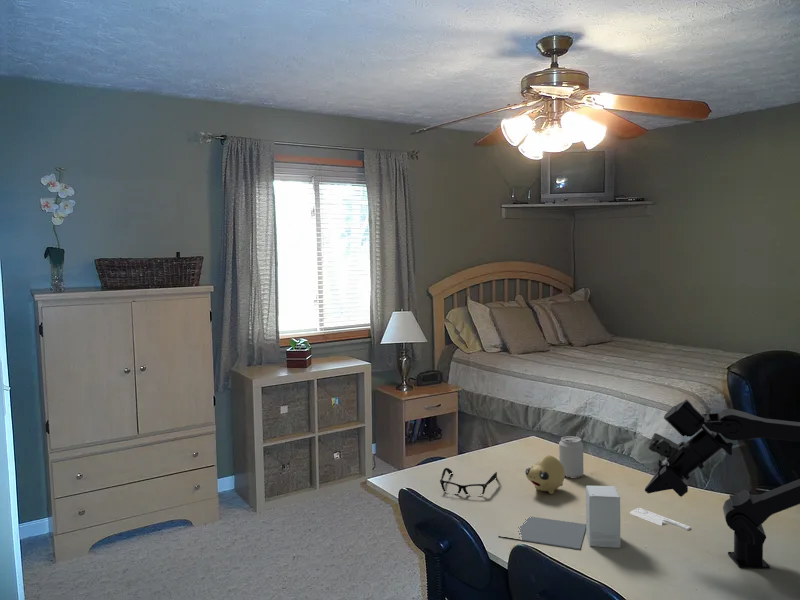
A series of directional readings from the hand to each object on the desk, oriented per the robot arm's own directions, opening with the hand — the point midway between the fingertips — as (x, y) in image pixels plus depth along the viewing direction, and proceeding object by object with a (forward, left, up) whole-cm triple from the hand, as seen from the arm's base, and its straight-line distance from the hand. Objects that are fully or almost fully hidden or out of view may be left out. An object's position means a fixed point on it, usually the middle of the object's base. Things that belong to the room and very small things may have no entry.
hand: (646, 491), depth 143 cm
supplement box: (+3, +10, -14) cm, 17 cm away
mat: (+7, +24, -14) cm, 28 cm away
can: (+48, +10, -14) cm, 51 cm away
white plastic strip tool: (+14, -7, -14) cm, 21 cm away
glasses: (+38, +43, -14) cm, 59 cm away
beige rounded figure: (+34, +20, -14) cm, 41 cm away
